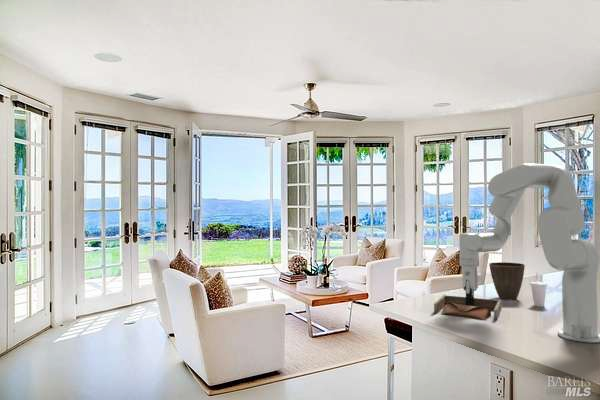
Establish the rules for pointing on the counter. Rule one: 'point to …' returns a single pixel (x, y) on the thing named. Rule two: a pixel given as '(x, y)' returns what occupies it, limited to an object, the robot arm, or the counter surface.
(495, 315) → the walnut bracket
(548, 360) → the counter surface
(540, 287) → the smoothie
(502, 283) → the plant pot
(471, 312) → the sunglasses case
